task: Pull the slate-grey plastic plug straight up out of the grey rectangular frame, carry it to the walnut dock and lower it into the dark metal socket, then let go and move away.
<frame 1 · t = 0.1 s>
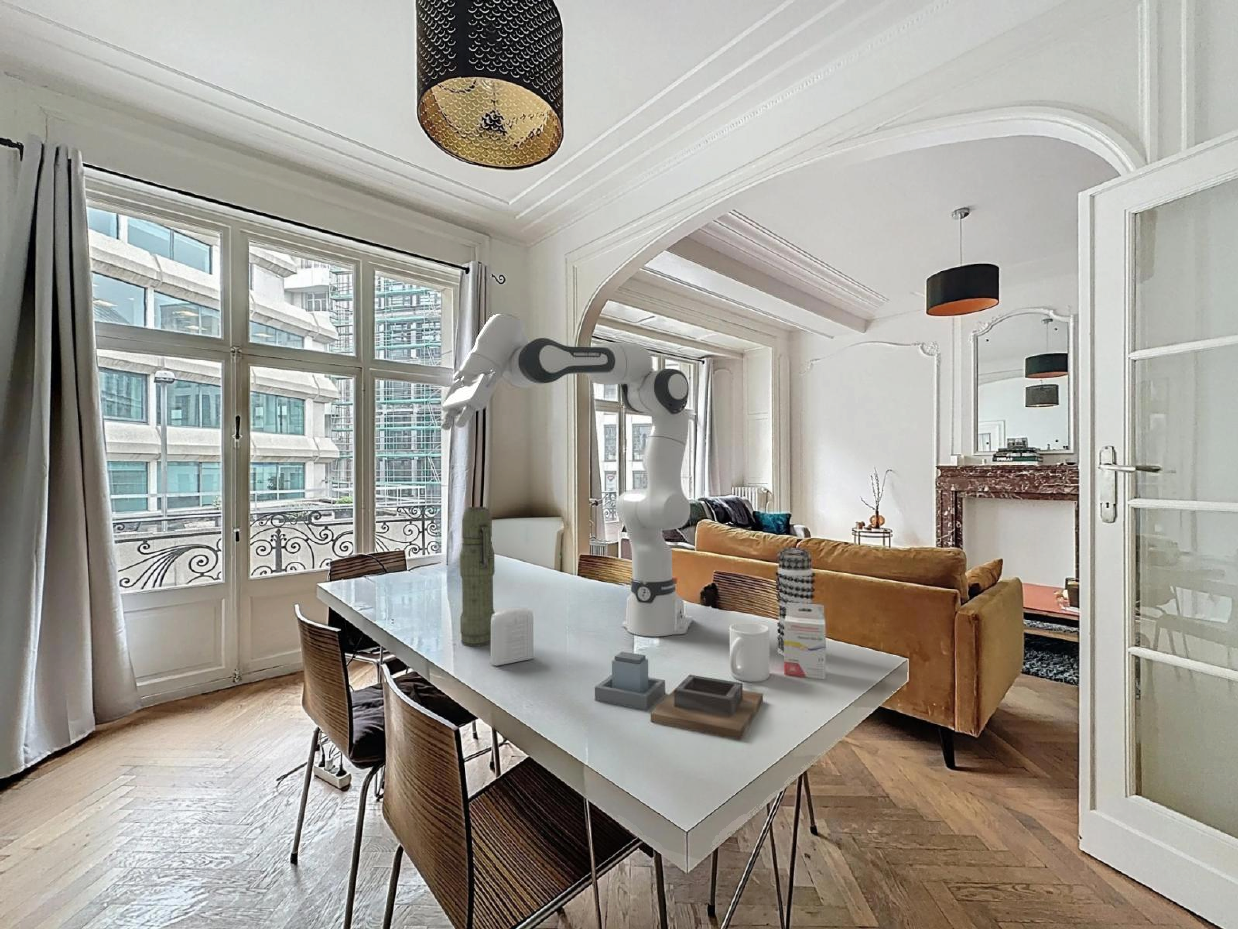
hand: (451, 427, 126), 54 cm above the table, tool tilted 30°, fingers open, 8 cm apart
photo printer: (512, 662, 133), on the table
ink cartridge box: (805, 674, 123), on the table
plug: (630, 676, 112), in the grey rectangular frame
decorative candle: (796, 654, 136), on the table
grey rectangular frame: (630, 696, 111), on the table
mug: (745, 679, 120), on the table
dock: (709, 711, 104), on the table
thermos: (478, 641, 149), on the table
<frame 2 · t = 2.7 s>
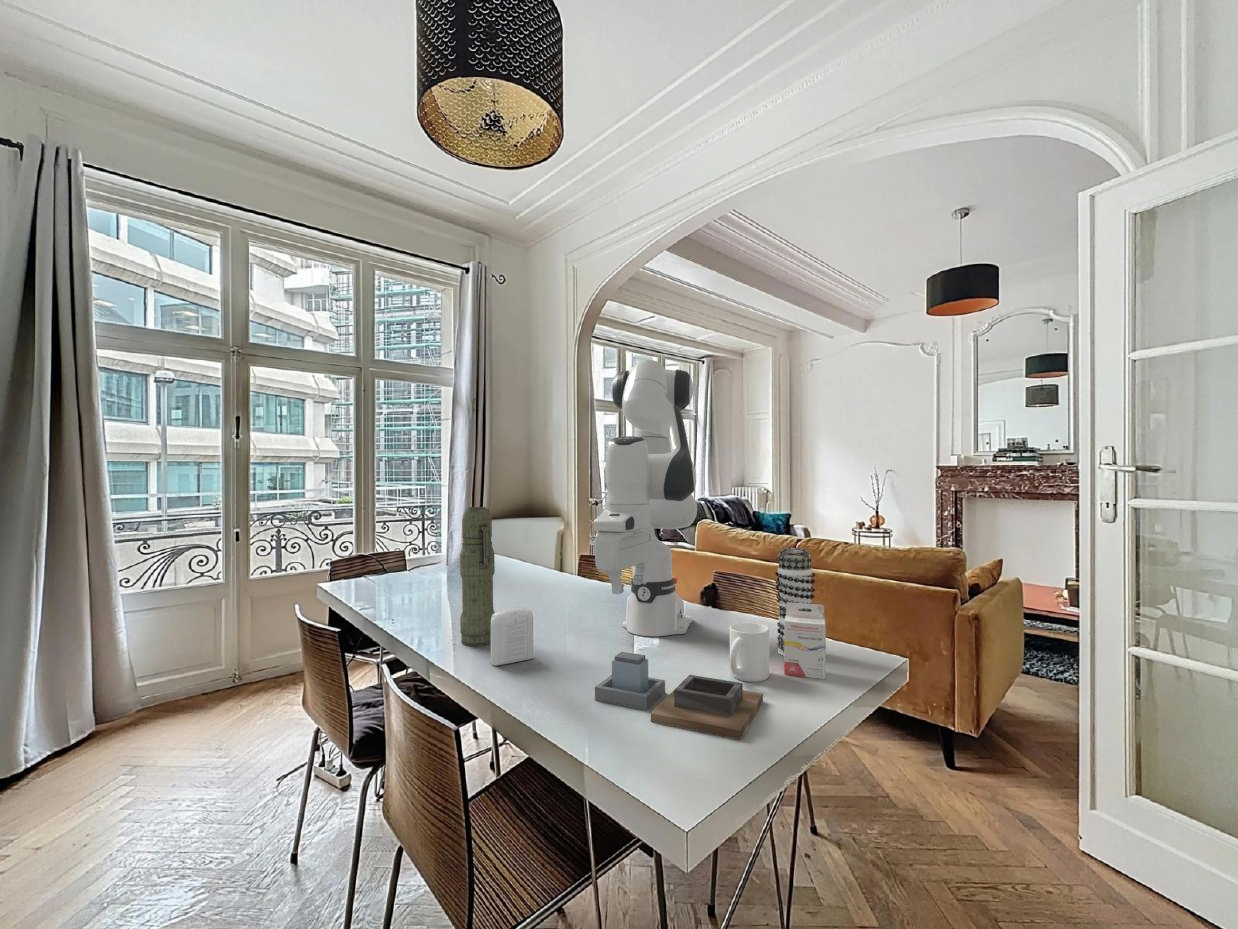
hand: (628, 588, 112), 21 cm above the table, tool pointing down, fingers open, 8 cm apart
nothing on the table moved.
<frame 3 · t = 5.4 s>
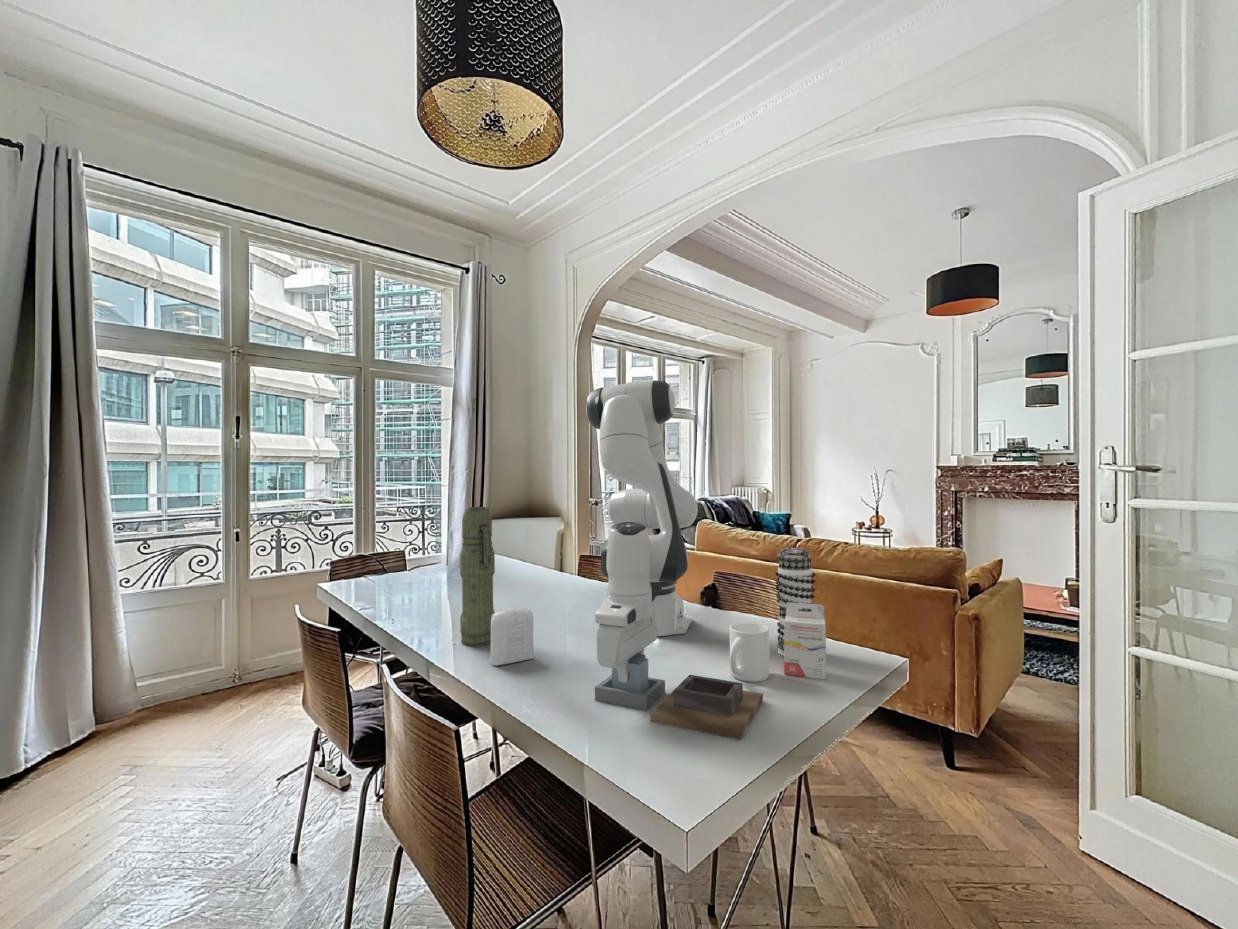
hand: (630, 676, 112), 4 cm above the table, tool pointing down, fingers closed on plug, 4 cm apart
plug: (630, 676, 112), in the grey rectangular frame, touching gripper
everything else where it was.
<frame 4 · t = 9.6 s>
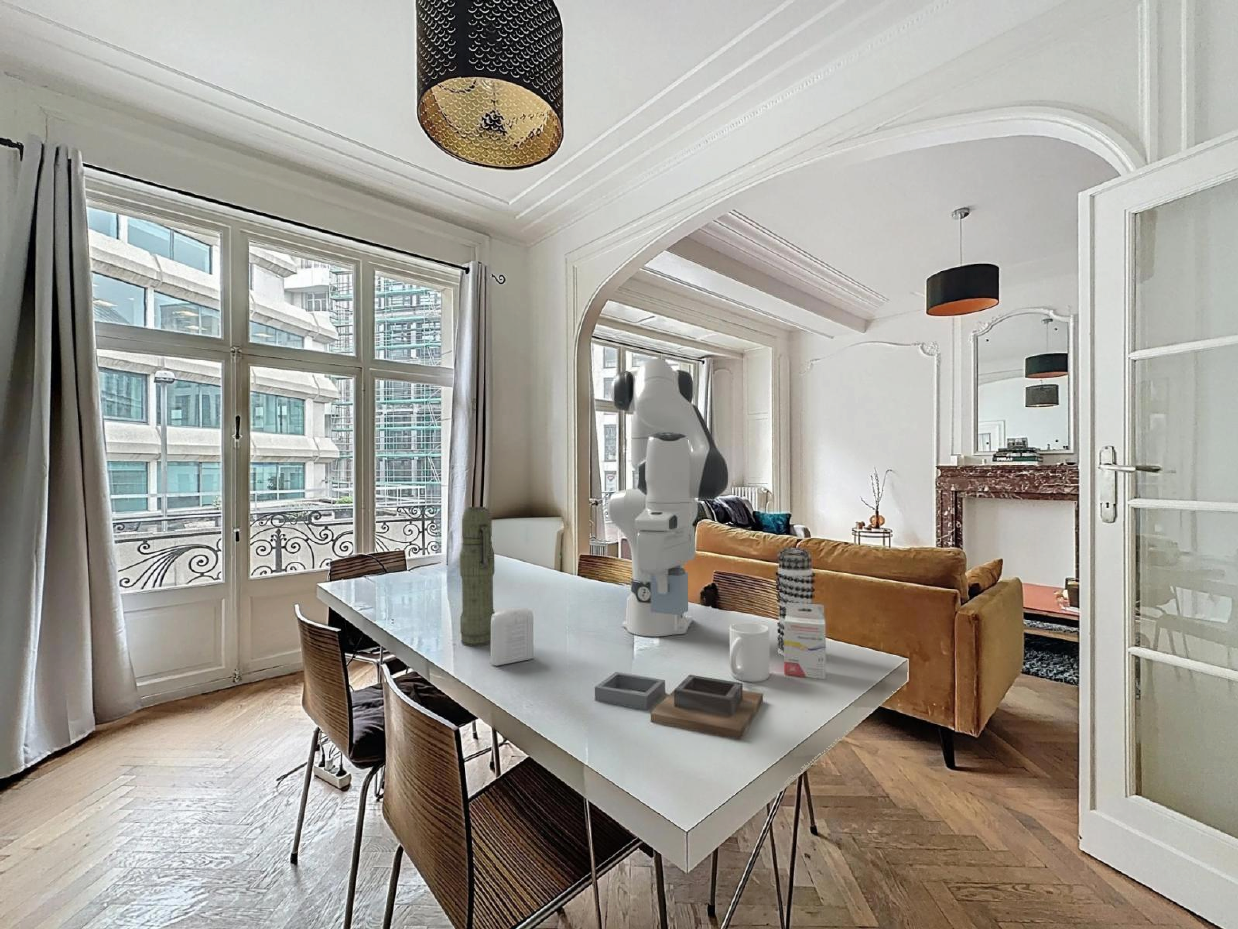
hand: (669, 590, 107), 22 cm above the table, tool pointing down, fingers closed on plug, 4 cm apart
plug: (669, 590, 107), point 22 cm above the table, touching gripper
everything else where it was.
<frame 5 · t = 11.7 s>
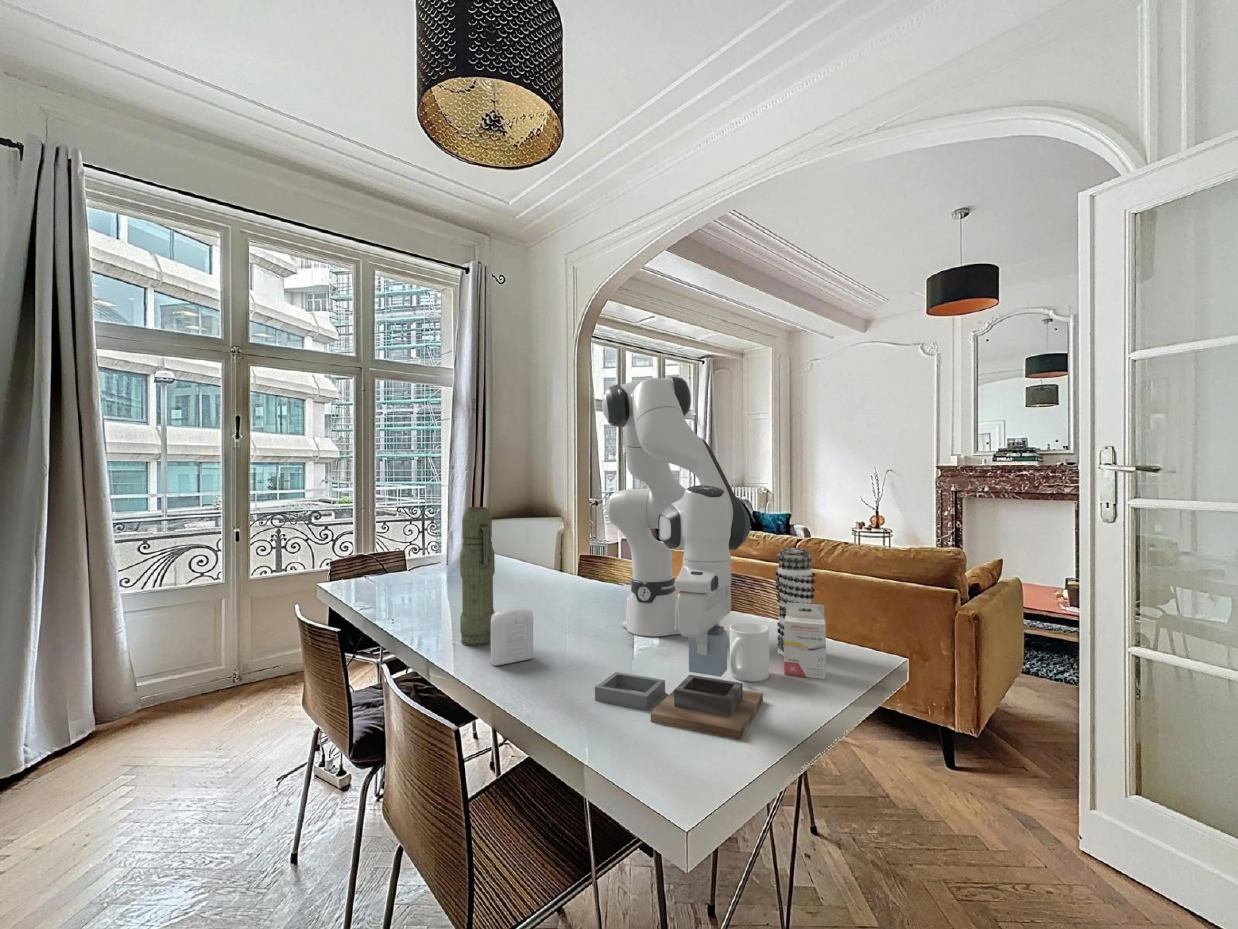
hand: (707, 649, 104), 11 cm above the table, tool pointing down, fingers closed on plug, 4 cm apart
plug: (707, 649, 104), point 11 cm above the table, touching gripper
everything else where it was.
when the fingers open (6 cm above the table, at t = 13.7 s): plug stays where it is, resting on dock.
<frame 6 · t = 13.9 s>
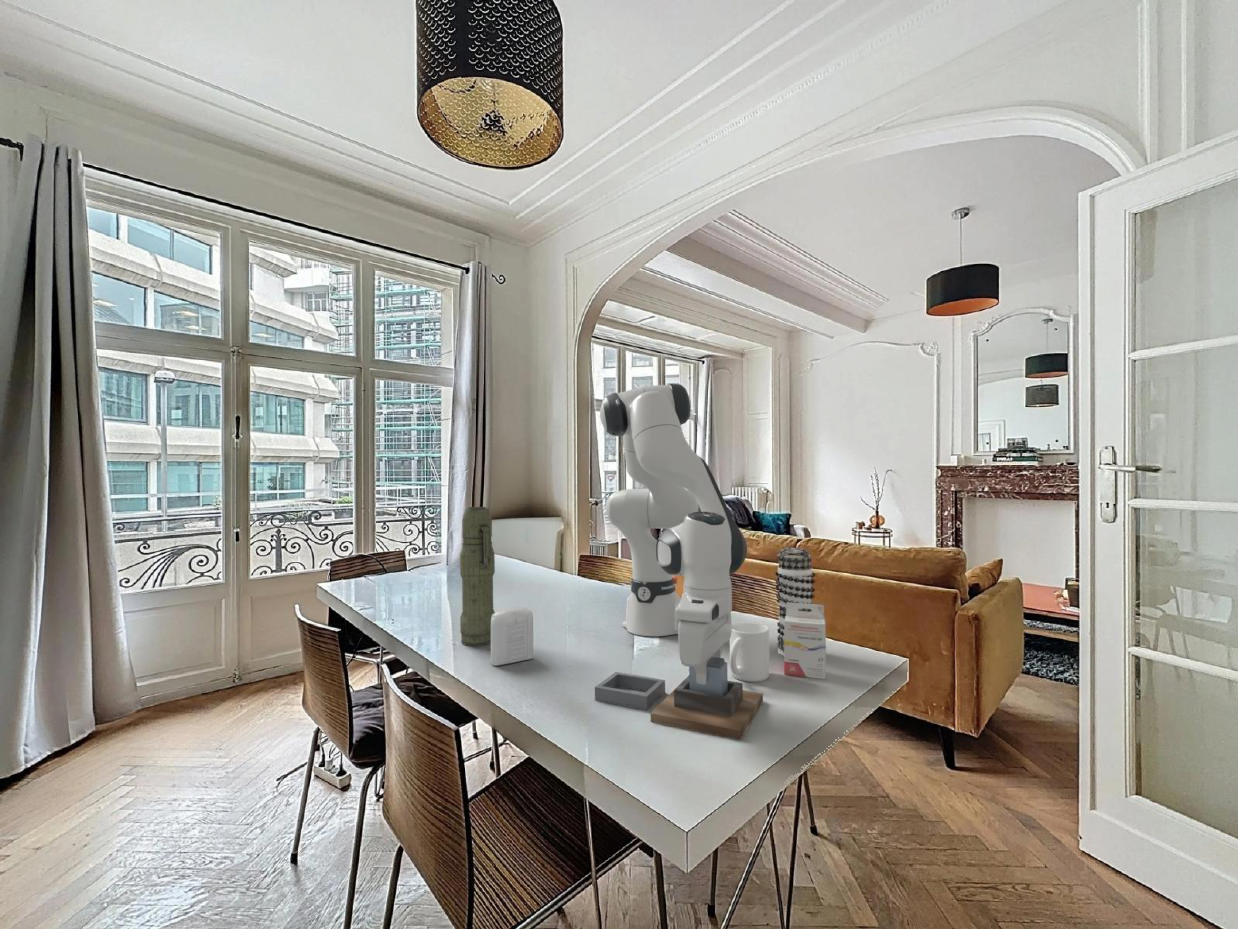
hand: (708, 676, 104), 6 cm above the table, tool pointing down, fingers open, 6 cm apart
plug: (708, 680, 104), in the dock, point 6 cm above the table
everything else where it was.
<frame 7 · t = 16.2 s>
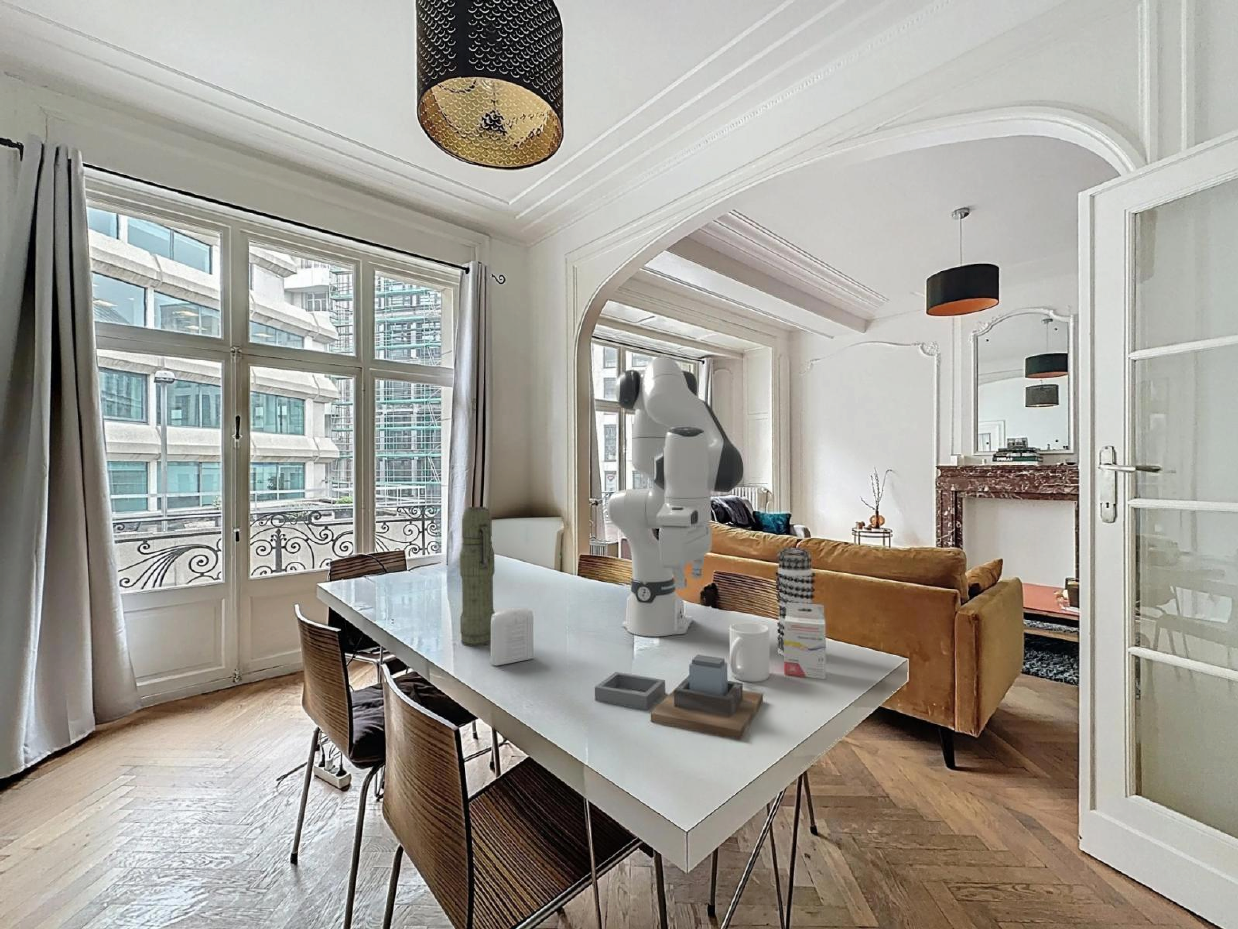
hand: (689, 583, 109), 23 cm above the table, tool pointing down, fingers open, 8 cm apart
nothing on the table moved.
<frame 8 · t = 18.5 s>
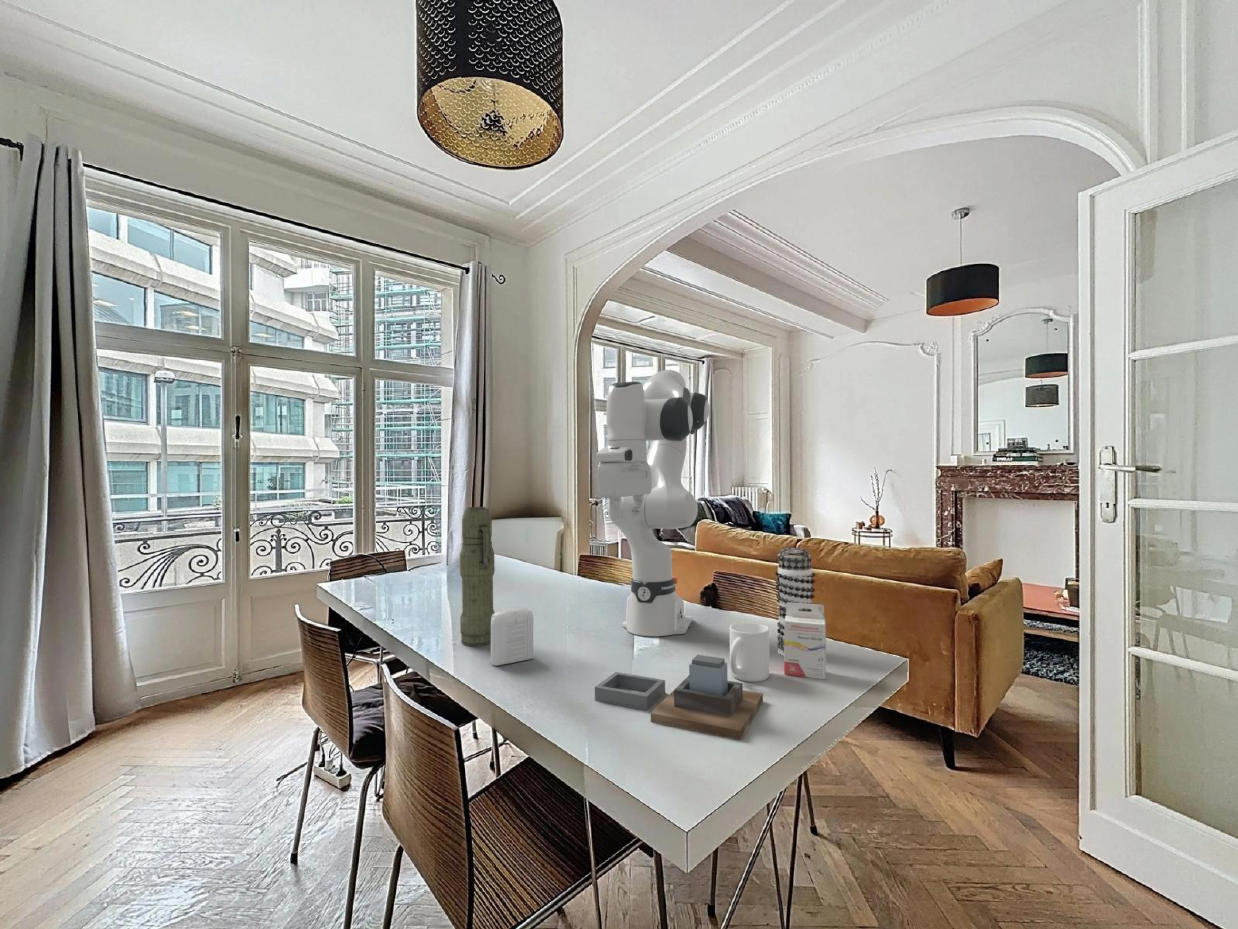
hand: (627, 516, 125), 34 cm above the table, tool pointing down, fingers open, 8 cm apart
nothing on the table moved.
at the end: plug 0.1 cm off-centre on the dock, point 5.5 cm above the dock's base; plug tilted 0°; the gripper is holding nothing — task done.
